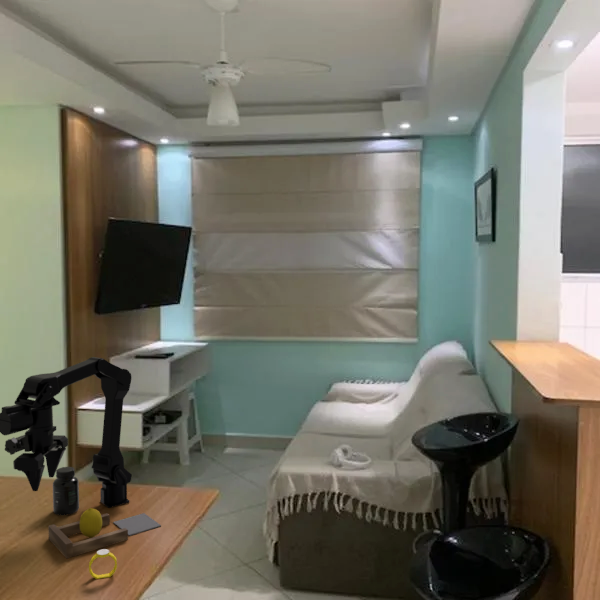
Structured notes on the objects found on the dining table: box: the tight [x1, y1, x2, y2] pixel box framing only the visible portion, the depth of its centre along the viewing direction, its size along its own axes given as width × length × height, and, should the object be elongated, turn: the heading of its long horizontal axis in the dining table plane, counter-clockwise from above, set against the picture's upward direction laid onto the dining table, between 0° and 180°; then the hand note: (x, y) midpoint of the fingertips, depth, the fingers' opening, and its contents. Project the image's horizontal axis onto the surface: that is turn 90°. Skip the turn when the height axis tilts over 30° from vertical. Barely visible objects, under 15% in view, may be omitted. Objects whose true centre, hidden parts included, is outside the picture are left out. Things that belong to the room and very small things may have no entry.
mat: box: [113, 512, 162, 537], centre depth 165 cm, size 9×10×1 cm
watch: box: [88, 548, 118, 580], centre depth 138 cm, size 6×3×6 cm, turn 109°
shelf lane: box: [47, 512, 129, 559], centre depth 156 cm, size 16×13×4 cm
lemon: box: [79, 507, 103, 539], centre depth 157 cm, size 6×6×8 cm
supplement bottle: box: [52, 466, 80, 516], centre depth 173 cm, size 7×7×12 cm
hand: (43, 483), depth 159 cm, fingers open, 9 cm apart
